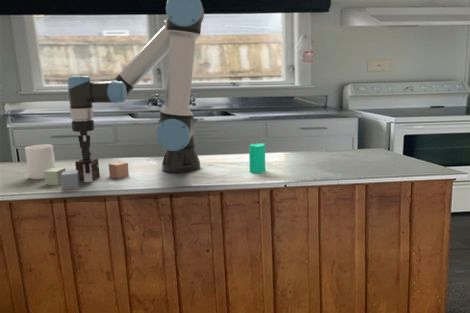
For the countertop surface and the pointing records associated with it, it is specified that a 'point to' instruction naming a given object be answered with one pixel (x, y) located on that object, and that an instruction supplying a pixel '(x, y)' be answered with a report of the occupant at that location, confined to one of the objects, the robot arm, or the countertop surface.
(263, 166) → the candle
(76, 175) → the cube slate
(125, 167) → the cube terracotta
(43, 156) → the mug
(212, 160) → the countertop surface
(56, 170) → the cube sage
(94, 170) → the box
